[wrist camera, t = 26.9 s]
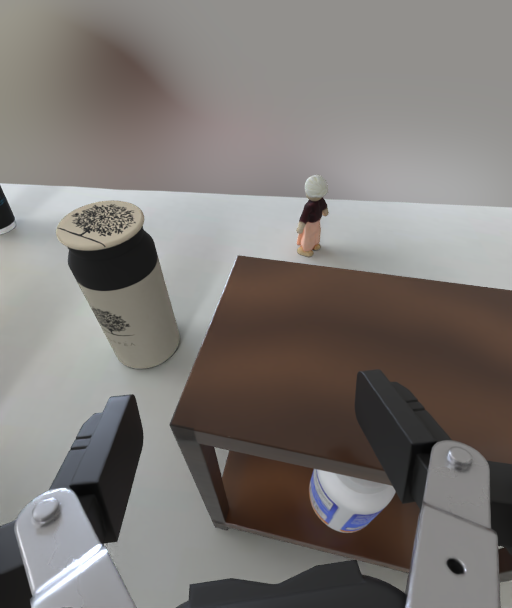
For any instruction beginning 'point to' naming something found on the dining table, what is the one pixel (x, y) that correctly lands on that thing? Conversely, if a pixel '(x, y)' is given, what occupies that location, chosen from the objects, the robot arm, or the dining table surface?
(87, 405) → the dining table surface
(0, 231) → the dixie cup
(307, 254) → the grandmother figurine
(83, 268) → the travel mug
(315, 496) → the pill bottle
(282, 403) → the shelf
